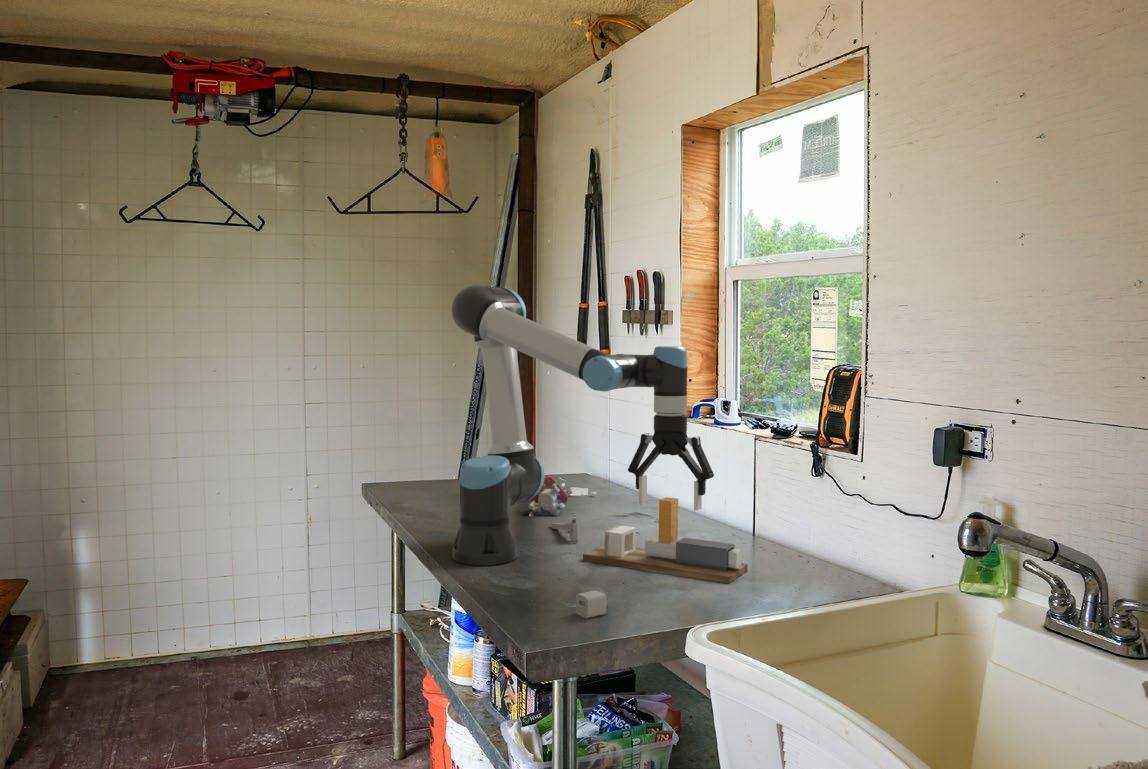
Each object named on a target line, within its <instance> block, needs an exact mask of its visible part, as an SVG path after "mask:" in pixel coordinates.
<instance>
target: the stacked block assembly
mask: <svg viewBox="0 0 1148 769" xmlns="http://www.w3.org/2000/svg"><path fill="white" fill-rule="evenodd" d="M658 505H659V506H658V538H657V537H653V536H652V537H649V538H647V539H645V541H644V549H645V555H649V556H656V557H663V558H670V559H676V542H677V541H679V540H678V538H679V535H678V532H679V498H674V497H666V496H665V497H663V498H661V499H659V500H658ZM742 552H743V551H742V549H739V548H734V549H732V548H731V549H730V550H728V551H727V567H730V568H738V567H739V566H741V563H742V561H743V560H742Z"/></svg>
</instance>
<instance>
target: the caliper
mask: <svg viewBox="0 0 1148 769" xmlns="http://www.w3.org/2000/svg"><path fill="white" fill-rule="evenodd" d="M569 521H570V522H564V523H559V522H558V523H557V522H551V523H550V525H549V527H550V528H551V529H554V530H560V531H564V533H565V534H569V539H570V542H571V543H573V544H578V524H577V520H576V518H570V520H569Z"/></svg>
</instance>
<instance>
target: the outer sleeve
mask: <svg viewBox="0 0 1148 769" xmlns="http://www.w3.org/2000/svg"><path fill="white" fill-rule="evenodd" d="M731 548H732V549H735V544H734V543H727V542H720V541H713V540H705V539H698V538H688V537H683V538H681V539H679V540H678V541H677V542H676V564H680V565H686V566H693V567H699V568H706V569H713V570H719V571H728V570H729V569H731V568H730V567H727V551H728V550H730V549H731Z"/></svg>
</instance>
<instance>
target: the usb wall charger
mask: <svg viewBox="0 0 1148 769" xmlns="http://www.w3.org/2000/svg"><path fill="white" fill-rule="evenodd" d="M612 604H615V599H609V597H608V596H607V594H605V593H603V592H601V591H599V590H596V589H595V590H592V591H591V590H590V591H586V592H580V593H577V594H576V595H575V613H576V614H577V615H578V616H580V617H582V618H585V619H590V618H594V617H599V616H603V615H606V614H607V606H608V605H612Z"/></svg>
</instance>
